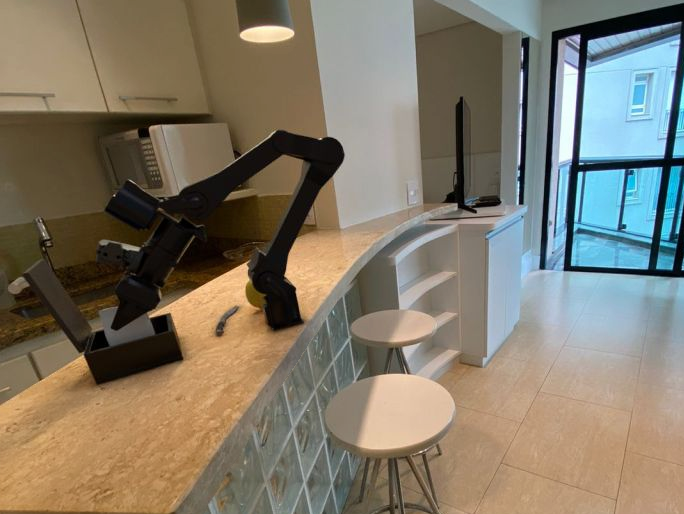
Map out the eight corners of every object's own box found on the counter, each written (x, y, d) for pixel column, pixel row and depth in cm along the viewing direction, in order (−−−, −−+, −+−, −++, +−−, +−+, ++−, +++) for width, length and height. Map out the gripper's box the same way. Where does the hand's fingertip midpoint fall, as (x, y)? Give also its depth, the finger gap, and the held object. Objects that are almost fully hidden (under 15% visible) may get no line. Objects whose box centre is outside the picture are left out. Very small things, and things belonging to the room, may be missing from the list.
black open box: (179, 338, 84) (170, 312, 81) (183, 359, 74) (173, 331, 72) (102, 359, 78) (91, 331, 76) (96, 385, 68) (83, 355, 66)
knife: (229, 329, 83) (213, 332, 82) (229, 333, 83) (214, 335, 82) (238, 304, 98) (225, 305, 97) (238, 306, 98) (225, 308, 98)
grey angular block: (159, 354, 75) (140, 304, 71) (117, 365, 73) (96, 314, 69) (160, 347, 78) (142, 298, 74) (120, 357, 76) (100, 307, 72)
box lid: (43, 258, 69) (14, 268, 68) (27, 272, 60) (-8, 284, 58) (92, 328, 76) (66, 339, 74) (84, 351, 66) (54, 364, 65)
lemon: (267, 313, 91) (259, 279, 88) (245, 314, 93) (237, 280, 89) (278, 304, 96) (271, 272, 93) (257, 305, 98) (249, 273, 94)
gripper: (124, 215, 75) (78, 284, 76) (108, 227, 60) (51, 315, 60) (182, 248, 81) (139, 313, 82) (182, 268, 65) (129, 348, 66)
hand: (117, 320), depth 72 cm, fingers open, 9 cm apart
